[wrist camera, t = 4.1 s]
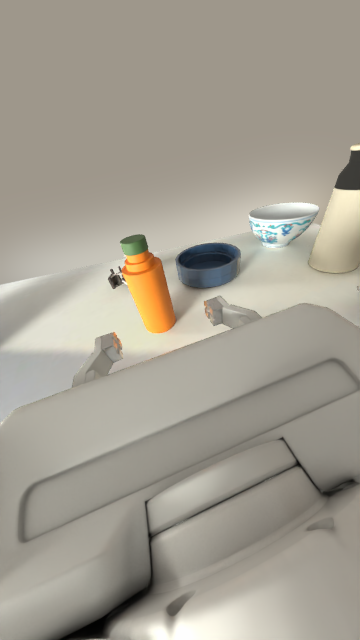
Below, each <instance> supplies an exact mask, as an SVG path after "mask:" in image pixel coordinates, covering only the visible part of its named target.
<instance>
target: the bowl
mask: <svg viewBox="0 0 360 640" xmlns="http://www.w3.org/2000/svg"><path fill="white" fill-rule="evenodd" d="M240 258H241V253H240V250H239V249H238V248H237V247H236V246H233V245H231V244H226V243H206V244H201V245H197V246H193V247H190V248H188V249H186V250H184V251H182V252H181V253H180V254H179V255H178V256H177V257H176V259H175V261H176V266H177V271H178V276H179V280H180V281H181V282H182V283H184V284H186V285H188V286H192V287H198V288H207V287H215V286H220V285H223V284H225V283H228V282H230V281H231V280H233V279H234V278H235V277H236V276H237V275H238V273H239V271H240Z"/></svg>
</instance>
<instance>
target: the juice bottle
mask: <svg viewBox="0 0 360 640" xmlns="http://www.w3.org/2000/svg"><path fill="white" fill-rule="evenodd" d="M120 244H121V247H122V249H123V252H124V254H125V255H126V257H127V259H126V260H125V266H124V267H123V268H122V274H123V276H124V278H125V280H126V283H127V285H128V287H129V290H130V292H131V294H132V297H133V299H134V301H135V303H136V306H137V308H138V310H139V313H140V315H141V317H142V319H143V322H144V324H145V326H146V329H147V330H148V331H150V332H152V333H162V332H165V331H168V330H169V329H171V328H172V327H173V326H174V324H175V321H176V318H175V314H174V310H173V306H172V302H171V298H170V294H169V290H168V286H167V282H166V278H165V275H164V271H163V267H162V263H161V260H160V259H159V258H157V257H154V255H153V254H152V253H150V252H149V251H148V245H147V242H146V239H145V236H144V235H133V236H130V237H127V238H124V239H123V240H121V241H120Z"/></svg>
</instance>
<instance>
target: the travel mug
mask: <svg viewBox="0 0 360 640" xmlns="http://www.w3.org/2000/svg"><path fill="white" fill-rule="evenodd" d="M350 150H351V156H350V160H349V163H348V164H347V166H346V167H345V168H344V169H343V171H342V172H341V173H340V175H339V176H338V179H337V182H336V185H335V187H334V190H333V193H332V196H331V199H330V201H329V204H328V207H327V210H326V213H325V216H324V218H323V221H322V224H321V227H320V230H319V232H318V235H317V238H316V241H315V244H314V246H313V249H312V252H311V255H310V258H309V260H308V264H309V265H310V266H311V267H313V268H314V269H316V270H319V271H322V272H328V273H344V272H350V271H353V270H355V269H356V268H357V267H358V265H359V264H360V143H358V144H355V145H353V146H351V148H350Z"/></svg>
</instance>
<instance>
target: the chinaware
mask: <svg viewBox="0 0 360 640" xmlns="http://www.w3.org/2000/svg"><path fill="white" fill-rule="evenodd" d="M319 209H320V208H319V207H318V206H317V205H314V204H309V203H282V204H274V205H268V206H264V207H260V208H257V209H255V210H253V211H251V212H250V213H249V222H250V226H251V229H252V232H253V233H254V235H255V236H256V237H257V238H258V239H259V240H261V241H262V245H263V246H265V247H270V248H279V247H284V246H286V245H288V244H289V242H290V241H291V240H293V239H295V238H297V237H298V236H299V235H301V234H302V233H303V232H304V231H305V230H306V229H307V228H308V227H309V226H310V225H311V223H312V222H313V220H314V219H315V217H316V215H317V214H318V212H319Z"/></svg>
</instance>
